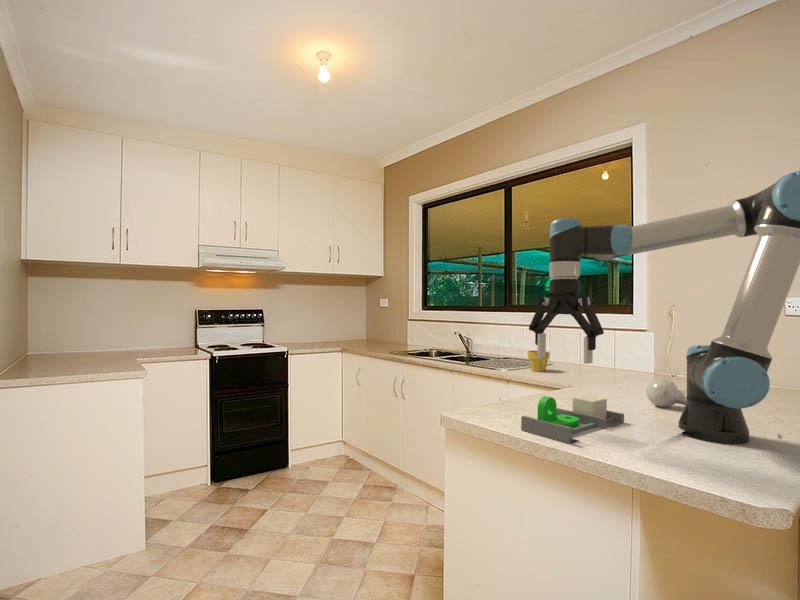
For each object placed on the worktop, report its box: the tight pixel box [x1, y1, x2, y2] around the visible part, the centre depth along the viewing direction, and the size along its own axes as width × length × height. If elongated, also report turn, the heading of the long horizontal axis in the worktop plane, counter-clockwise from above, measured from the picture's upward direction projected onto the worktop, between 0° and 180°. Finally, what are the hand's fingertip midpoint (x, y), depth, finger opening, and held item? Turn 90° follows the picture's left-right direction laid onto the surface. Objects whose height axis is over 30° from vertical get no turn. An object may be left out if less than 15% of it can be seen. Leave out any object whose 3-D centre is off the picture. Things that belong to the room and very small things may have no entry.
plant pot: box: [527, 350, 550, 373], centre depth 226 cm, size 10×10×10 cm
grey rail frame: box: [520, 407, 625, 445], centre depth 122 cm, size 14×26×4 cm, turn 127°
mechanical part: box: [537, 395, 579, 428], centre depth 119 cm, size 12×6×8 cm, turn 129°
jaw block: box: [572, 395, 608, 419], centre depth 126 cm, size 6×7×6 cm
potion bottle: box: [645, 378, 687, 409], centre depth 149 cm, size 9×10×15 cm
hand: (563, 360), depth 119 cm, fingers open, 13 cm apart
